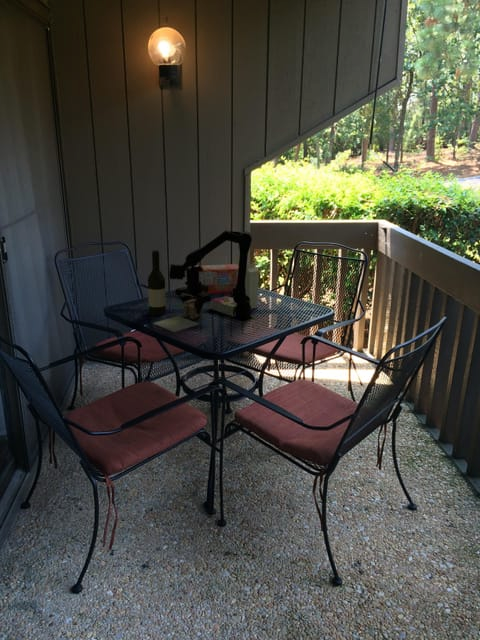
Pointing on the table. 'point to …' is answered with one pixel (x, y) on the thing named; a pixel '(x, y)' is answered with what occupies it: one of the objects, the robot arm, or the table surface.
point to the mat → (175, 323)
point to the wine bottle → (156, 288)
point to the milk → (252, 284)
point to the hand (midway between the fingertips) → (193, 312)
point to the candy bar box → (224, 305)
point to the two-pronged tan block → (191, 309)
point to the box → (219, 277)
